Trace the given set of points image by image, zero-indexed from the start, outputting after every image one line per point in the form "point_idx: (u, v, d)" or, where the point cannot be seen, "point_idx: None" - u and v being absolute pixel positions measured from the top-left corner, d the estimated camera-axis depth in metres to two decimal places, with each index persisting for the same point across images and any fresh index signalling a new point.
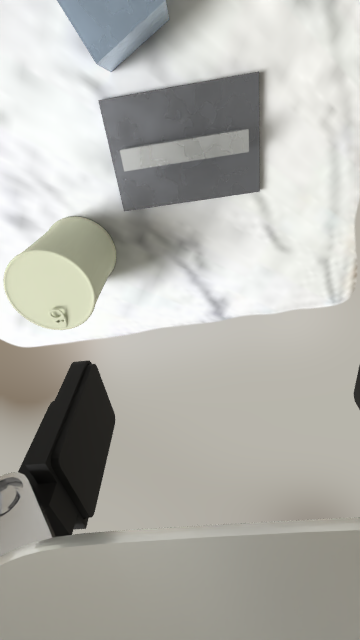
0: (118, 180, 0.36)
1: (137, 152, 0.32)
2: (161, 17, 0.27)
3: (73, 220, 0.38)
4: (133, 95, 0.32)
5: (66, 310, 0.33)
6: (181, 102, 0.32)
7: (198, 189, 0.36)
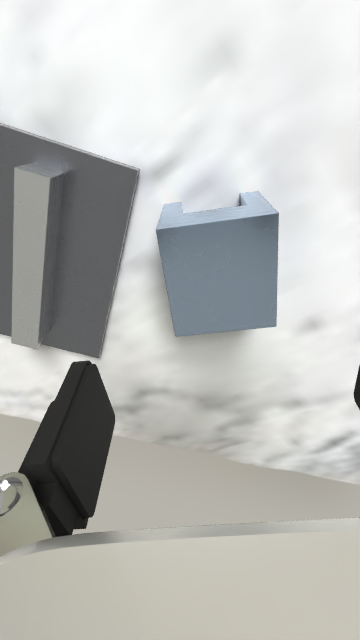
0: (15, 133, 0.19)
1: (40, 206, 0.19)
2: None
3: None
4: (125, 224, 0.22)
5: None
6: (96, 278, 0.24)
7: None
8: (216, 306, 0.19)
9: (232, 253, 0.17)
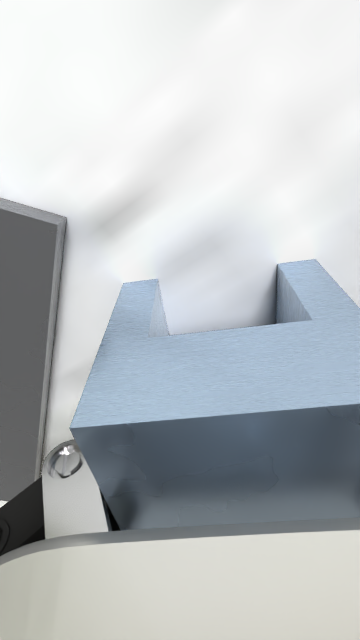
0: None
1: None
2: None
3: None
4: (45, 324, 0.11)
5: None
6: (6, 407, 0.13)
7: None
8: None
9: (285, 472, 0.06)
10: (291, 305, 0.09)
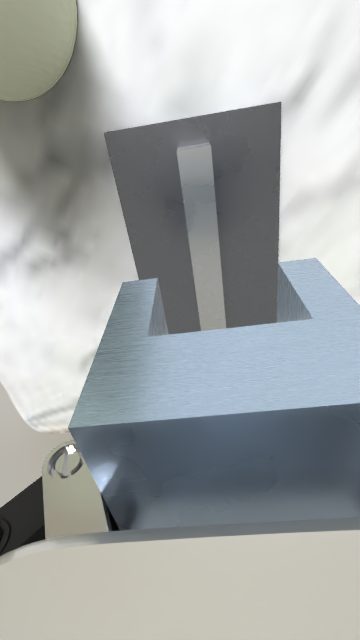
0: (157, 126, 0.20)
1: (206, 179, 0.19)
2: None
3: None
4: (278, 167, 0.21)
5: None
6: (259, 238, 0.24)
7: (150, 262, 0.25)
8: None
9: (285, 472, 0.06)
10: (292, 304, 0.09)
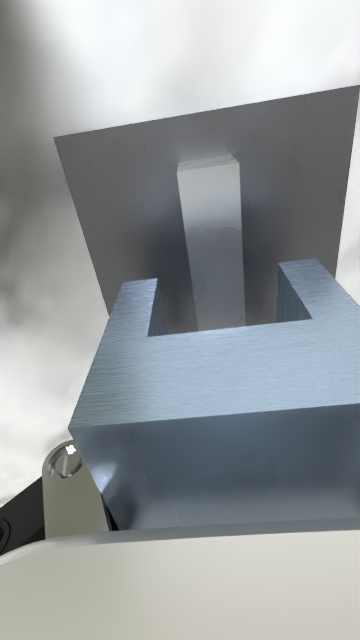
0: (143, 127, 0.12)
1: (228, 220, 0.11)
2: None
3: None
4: (343, 195, 0.13)
5: None
6: None
7: None
8: None
9: (285, 472, 0.06)
10: (291, 304, 0.09)
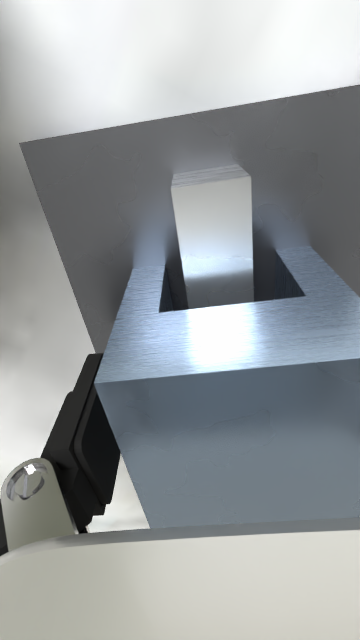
0: (130, 130, 0.09)
1: (237, 246, 0.09)
2: None
3: None
4: None
5: None
6: None
7: None
8: (238, 502, 0.09)
9: (281, 426, 0.07)
10: (288, 286, 0.10)
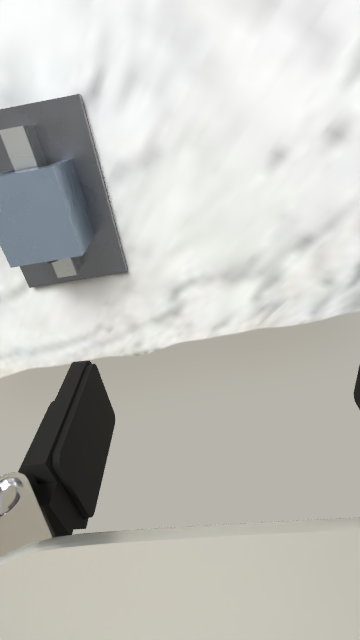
0: None
1: (26, 151, 0.26)
2: None
3: None
4: (90, 143, 0.28)
5: None
6: (93, 200, 0.31)
7: None
8: (33, 241, 0.26)
9: (30, 198, 0.25)
10: None
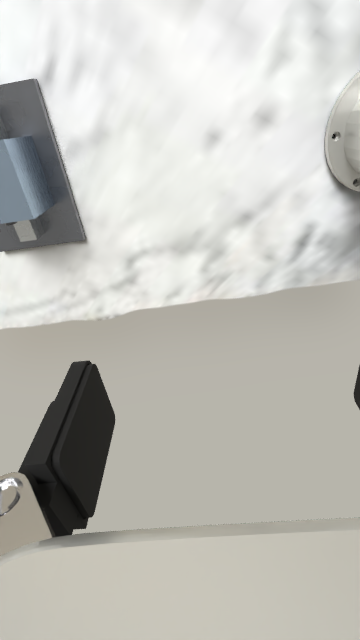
0: None
1: None
2: None
3: None
4: (46, 122, 0.32)
5: None
6: (50, 173, 0.35)
7: None
8: None
9: None
10: None
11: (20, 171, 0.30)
